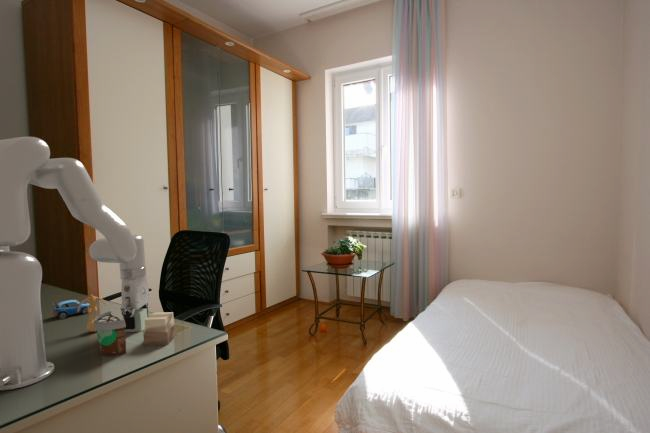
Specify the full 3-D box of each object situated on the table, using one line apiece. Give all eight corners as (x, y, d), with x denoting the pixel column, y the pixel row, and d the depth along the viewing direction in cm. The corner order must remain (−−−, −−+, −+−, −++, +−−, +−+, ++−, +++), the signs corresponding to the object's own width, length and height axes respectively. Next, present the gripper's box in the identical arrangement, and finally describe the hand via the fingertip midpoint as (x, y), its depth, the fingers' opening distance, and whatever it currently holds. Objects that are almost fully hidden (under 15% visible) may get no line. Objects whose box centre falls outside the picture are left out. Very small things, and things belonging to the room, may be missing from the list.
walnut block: (168, 345, 111) (167, 332, 111) (144, 346, 111) (143, 333, 111) (176, 336, 118) (175, 323, 118) (154, 337, 118) (153, 324, 118)
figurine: (79, 336, 120) (76, 299, 119) (79, 330, 125) (75, 295, 124) (109, 330, 125) (106, 294, 124) (107, 325, 129) (105, 290, 129)
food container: (89, 350, 109) (86, 316, 108) (112, 343, 114) (110, 310, 113) (103, 362, 101) (100, 326, 100) (128, 354, 105) (125, 319, 105)
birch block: (166, 332, 111) (165, 318, 111) (145, 332, 111) (144, 319, 111) (174, 324, 117) (173, 312, 117) (154, 325, 117) (153, 312, 117)
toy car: (93, 312, 144) (91, 298, 144) (54, 321, 136) (53, 305, 136) (89, 309, 148) (88, 295, 148) (52, 317, 140) (51, 302, 140)
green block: (141, 331, 123) (140, 313, 122) (126, 332, 123) (124, 314, 122) (148, 325, 128) (146, 308, 127) (133, 326, 128) (131, 309, 127)
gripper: (132, 278, 115) (136, 333, 117) (155, 266, 132) (158, 314, 134) (107, 279, 115) (111, 334, 116) (133, 267, 132) (137, 315, 134)
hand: (137, 323), depth 125 cm, fingers open, 9 cm apart
